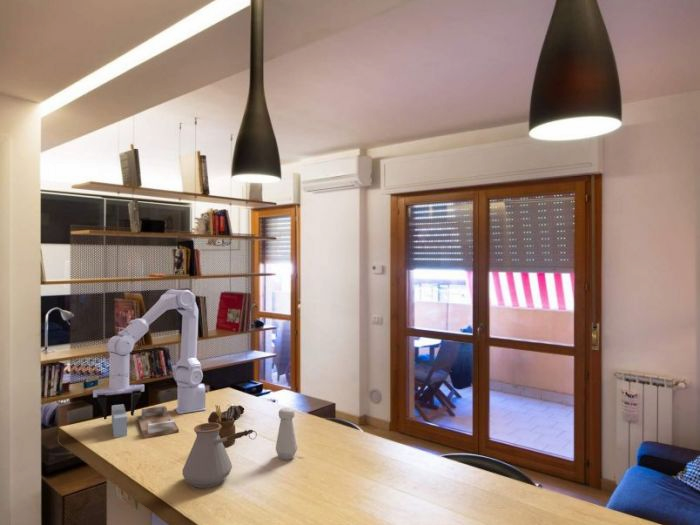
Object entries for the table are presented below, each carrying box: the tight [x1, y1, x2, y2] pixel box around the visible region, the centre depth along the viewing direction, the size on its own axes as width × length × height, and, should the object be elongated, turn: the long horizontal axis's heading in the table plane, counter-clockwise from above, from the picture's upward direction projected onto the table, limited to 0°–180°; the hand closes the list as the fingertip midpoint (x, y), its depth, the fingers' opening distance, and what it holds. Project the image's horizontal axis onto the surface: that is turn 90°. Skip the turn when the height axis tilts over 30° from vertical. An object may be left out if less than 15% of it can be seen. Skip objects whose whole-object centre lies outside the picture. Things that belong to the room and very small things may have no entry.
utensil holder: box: [214, 403, 236, 447], centre depth 134 cm, size 6×6×12 cm
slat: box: [111, 403, 128, 439], centre depth 146 cm, size 4×15×6 cm, turn 30°
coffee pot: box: [182, 422, 258, 489], centre depth 108 cm, size 21×12×15 cm, turn 57°
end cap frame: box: [136, 405, 180, 439], centre depth 149 cm, size 10×20×4 cm, turn 30°
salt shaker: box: [275, 407, 298, 461], centre depth 125 cm, size 6×6×13 cm
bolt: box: [207, 405, 245, 423], centre depth 154 cm, size 6×5×15 cm
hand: (118, 416), depth 146 cm, fingers open, 7 cm apart
